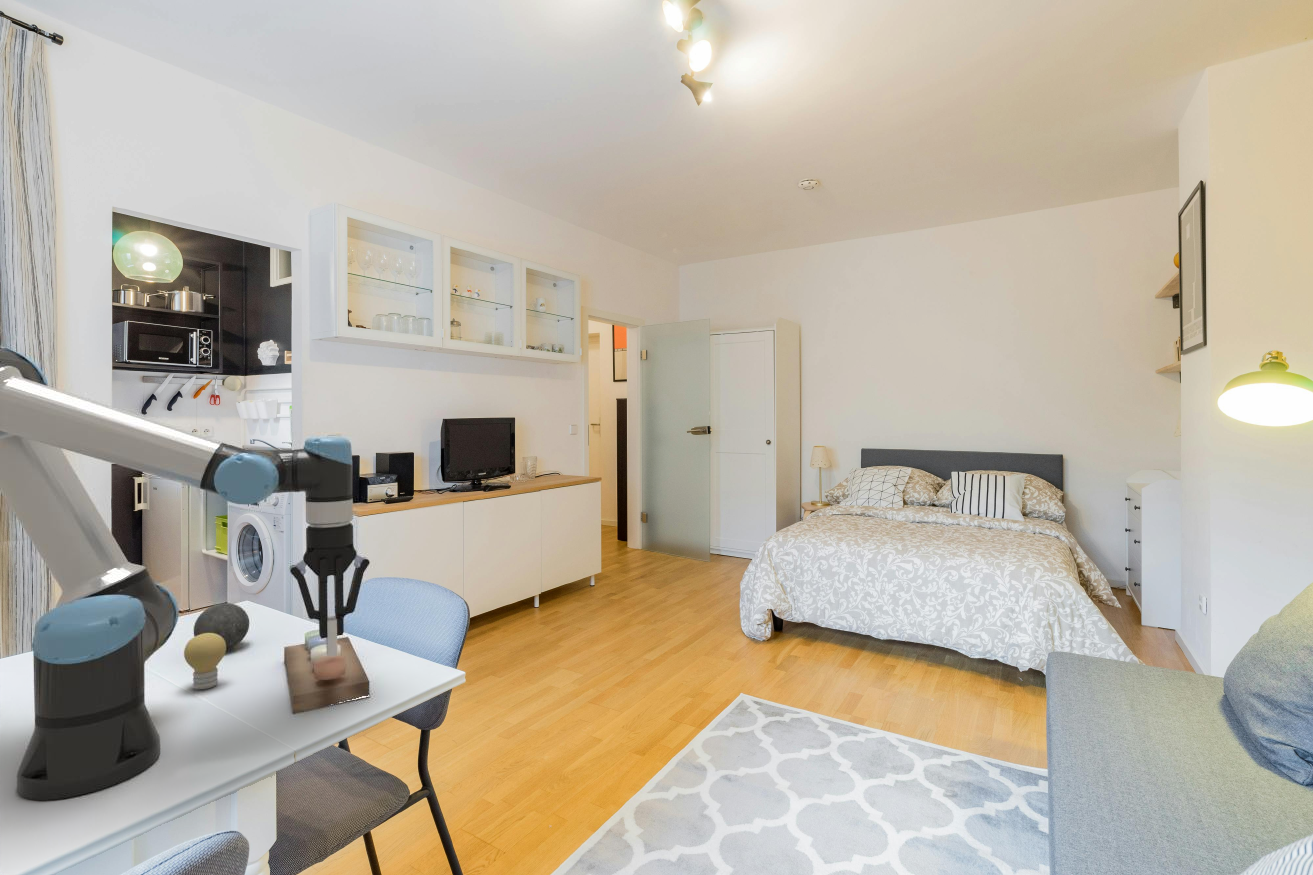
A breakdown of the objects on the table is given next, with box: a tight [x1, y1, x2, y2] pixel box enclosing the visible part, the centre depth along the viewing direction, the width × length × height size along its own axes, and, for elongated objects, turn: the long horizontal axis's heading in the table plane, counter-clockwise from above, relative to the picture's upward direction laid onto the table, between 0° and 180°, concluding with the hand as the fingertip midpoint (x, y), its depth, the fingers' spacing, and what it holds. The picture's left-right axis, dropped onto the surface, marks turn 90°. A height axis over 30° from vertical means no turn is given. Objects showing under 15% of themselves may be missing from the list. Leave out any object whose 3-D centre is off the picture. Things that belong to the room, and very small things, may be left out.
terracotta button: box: [314, 655, 345, 680], centre depth 114 cm, size 5×5×3 cm
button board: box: [283, 636, 370, 714], centre depth 123 cm, size 12×28×3 cm, turn 33°
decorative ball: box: [193, 602, 250, 651], centre depth 138 cm, size 10×10×10 cm
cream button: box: [311, 644, 341, 666], centre depth 120 cm, size 5×5×3 cm
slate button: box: [308, 634, 326, 655], centre depth 126 cm, size 5×5×3 cm
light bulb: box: [183, 633, 227, 691], centre depth 118 cm, size 6×6×10 cm
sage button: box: [304, 629, 319, 649], centre depth 131 cm, size 5×5×3 cm
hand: (331, 653), depth 114 cm, fingers closed
